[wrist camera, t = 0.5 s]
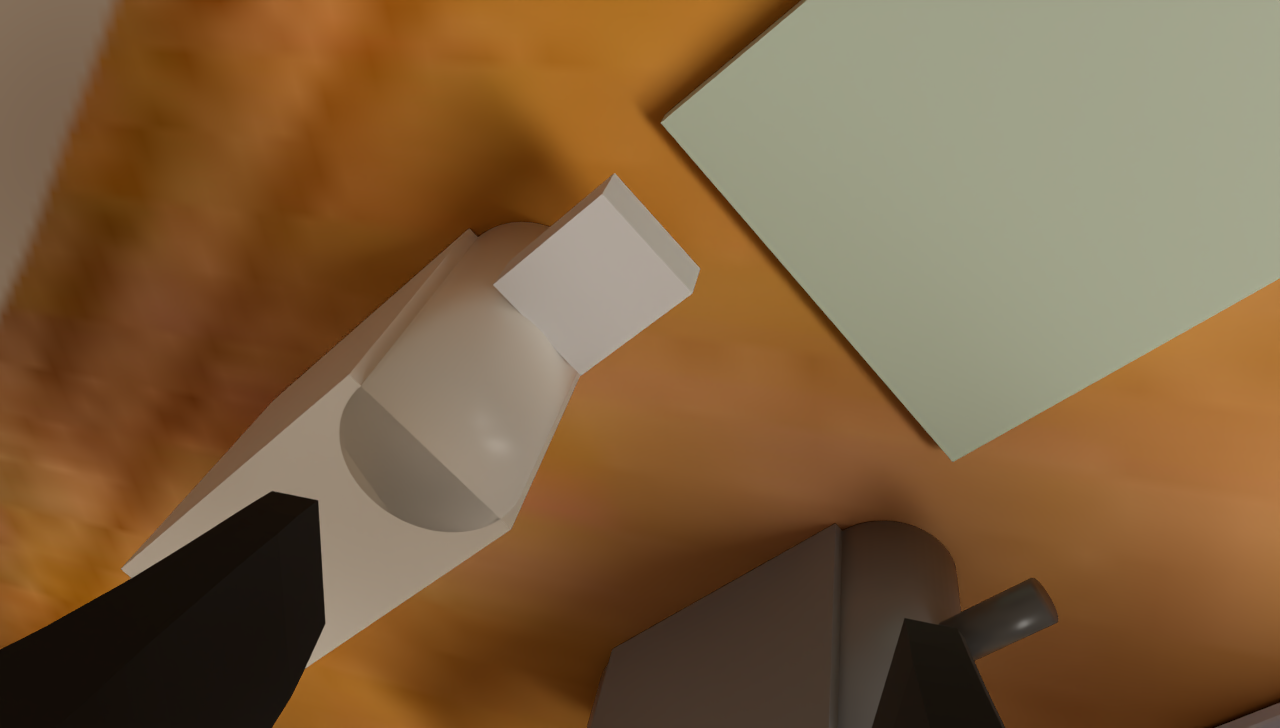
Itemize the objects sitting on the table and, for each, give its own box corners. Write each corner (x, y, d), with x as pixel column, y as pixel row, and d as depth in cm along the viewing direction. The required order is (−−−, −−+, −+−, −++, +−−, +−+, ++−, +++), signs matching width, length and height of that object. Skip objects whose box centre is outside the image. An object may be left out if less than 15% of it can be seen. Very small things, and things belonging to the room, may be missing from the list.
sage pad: (1406, 189, 18) (1418, 200, 18) (951, 448, 22) (952, 462, 22) (1115, -265, 16) (1122, -265, 16) (664, 114, 20) (661, 122, 20)
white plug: (300, 570, 27) (170, 759, 22) (190, 473, 26) (28, 647, 21) (739, 241, 21) (700, 400, 16) (615, 99, 20) (530, 219, 15)
